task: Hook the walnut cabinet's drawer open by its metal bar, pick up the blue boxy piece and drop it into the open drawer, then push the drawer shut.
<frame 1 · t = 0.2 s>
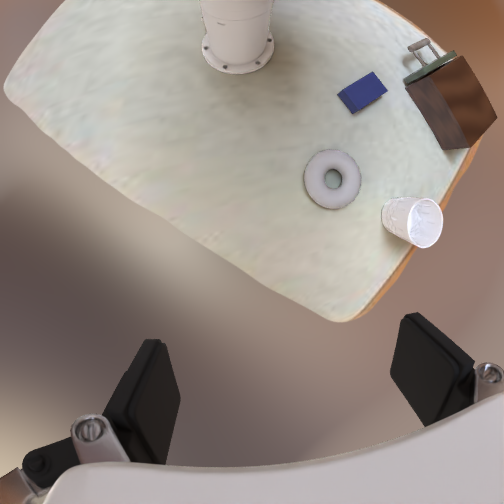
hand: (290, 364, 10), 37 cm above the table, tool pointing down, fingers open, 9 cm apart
white cup: (395, 215, 46), on the table
donut: (330, 178, 44), on the table
cabinet: (442, 105, 40), on the table
blue boxy piece: (359, 94, 40), on the table
drawer: (442, 81, 35), point 4 cm above the table, slide at 0.5 cm
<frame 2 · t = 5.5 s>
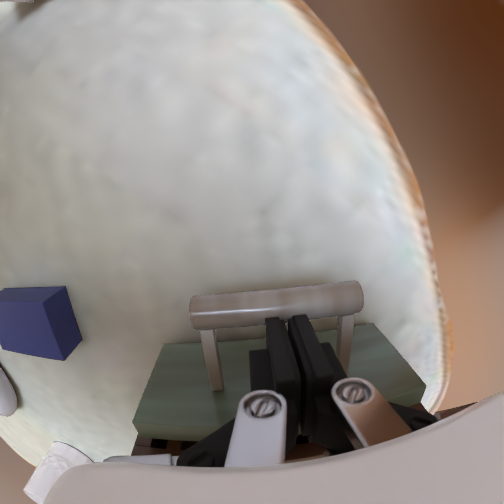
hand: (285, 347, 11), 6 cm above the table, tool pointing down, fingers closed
white cup: (74, 455, 22), on the table
cabinet: (274, 420, 19), on the table
blue boxy piece: (39, 313, 16), on the table
drawer: (279, 423, 14), point 4 cm above the table, slide at 0.7 cm, touching gripper
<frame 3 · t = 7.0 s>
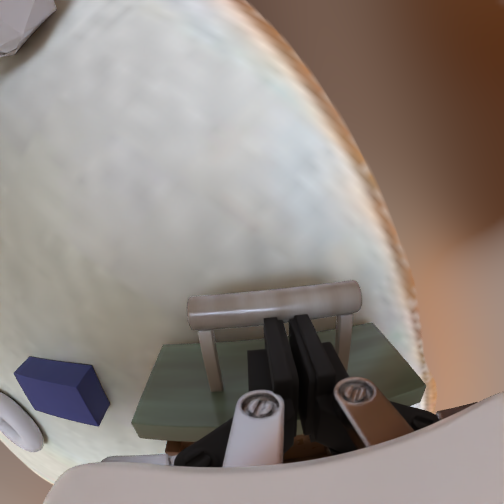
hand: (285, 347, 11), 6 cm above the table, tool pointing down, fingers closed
donut: (18, 414, 20), on the table
die: (31, 26, 10), on the table
blue boxy piece: (66, 380, 18), on the table
drawer: (279, 423, 14), point 4 cm above the table, slide at 7.3 cm, touching gripper
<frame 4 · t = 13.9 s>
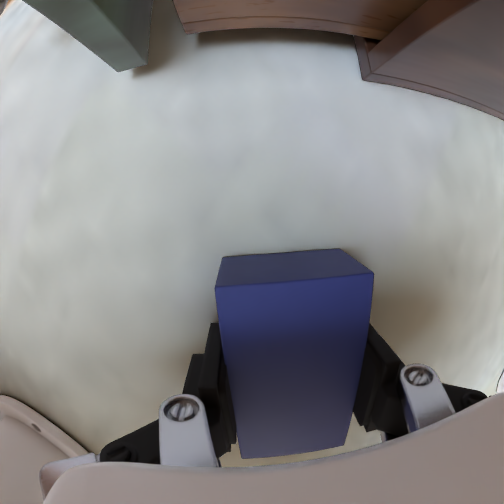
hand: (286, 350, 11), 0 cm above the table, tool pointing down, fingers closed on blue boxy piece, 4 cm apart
cabinet: (445, 2, 7), on the table
blue boxy piece: (285, 345, 11), on the table, touching gripper
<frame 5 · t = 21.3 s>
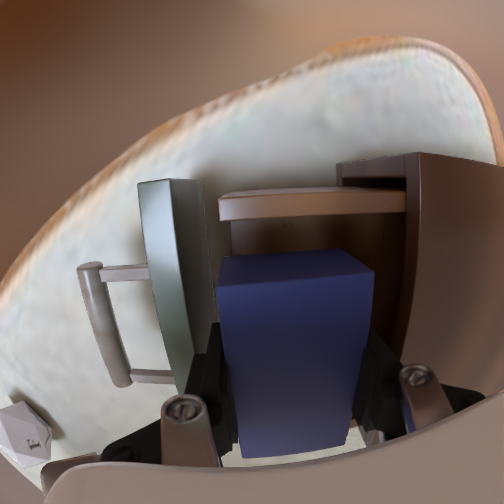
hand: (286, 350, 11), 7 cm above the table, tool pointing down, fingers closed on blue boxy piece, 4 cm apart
cabinet: (424, 267, 18), on the table
die: (35, 415, 22), on the table
blue boxy piece: (286, 345, 11), point 7 cm above the table, touching gripper
drawer: (270, 316, 13), point 4 cm above the table, slide at 8.0 cm
when the fingers open (6 cm above the table, at t = 28.5 s): blue boxy piece drops 4 cm, resting on drawer.
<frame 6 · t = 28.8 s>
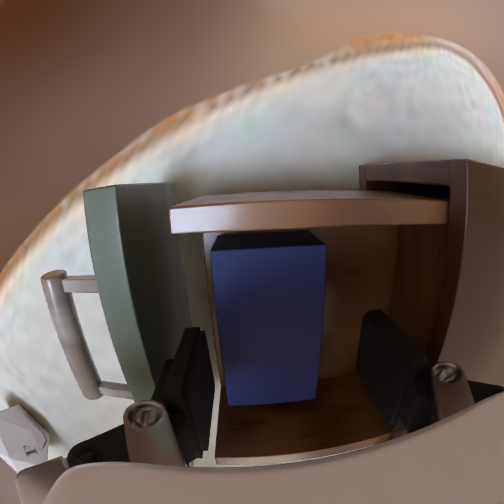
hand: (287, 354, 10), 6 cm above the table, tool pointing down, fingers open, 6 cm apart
cabinet: (442, 276, 16), on the table
die: (31, 420, 20), on the table
blue boxy piece: (266, 309, 14), point 2 cm above the table, touching drawer
drawer: (243, 335, 12), point 4 cm above the table, slide at 10.1 cm, touching gripper, blue boxy piece
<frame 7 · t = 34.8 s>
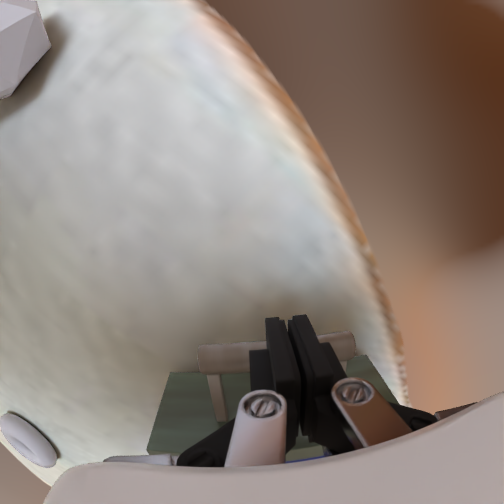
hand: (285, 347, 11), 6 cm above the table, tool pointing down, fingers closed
donut: (32, 433, 21), on the table
die: (26, 63, 12), on the table
drawer: (277, 444, 15), point 4 cm above the table, slide at 9.7 cm, touching gripper, blue boxy piece
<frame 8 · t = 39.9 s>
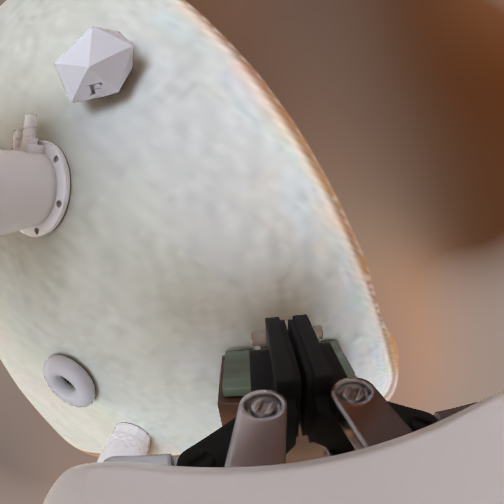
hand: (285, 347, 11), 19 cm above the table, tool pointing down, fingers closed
white cup: (133, 433, 37), on the table
donut: (73, 375, 34), on the table
cabinet: (282, 392, 34), on the table
die: (110, 76, 24), on the table
drawer: (286, 391, 29), point 4 cm above the table, slide at 0.1 cm, touching blue boxy piece
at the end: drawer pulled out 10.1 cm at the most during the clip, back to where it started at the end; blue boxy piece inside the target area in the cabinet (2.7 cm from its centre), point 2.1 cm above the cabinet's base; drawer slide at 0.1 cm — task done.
